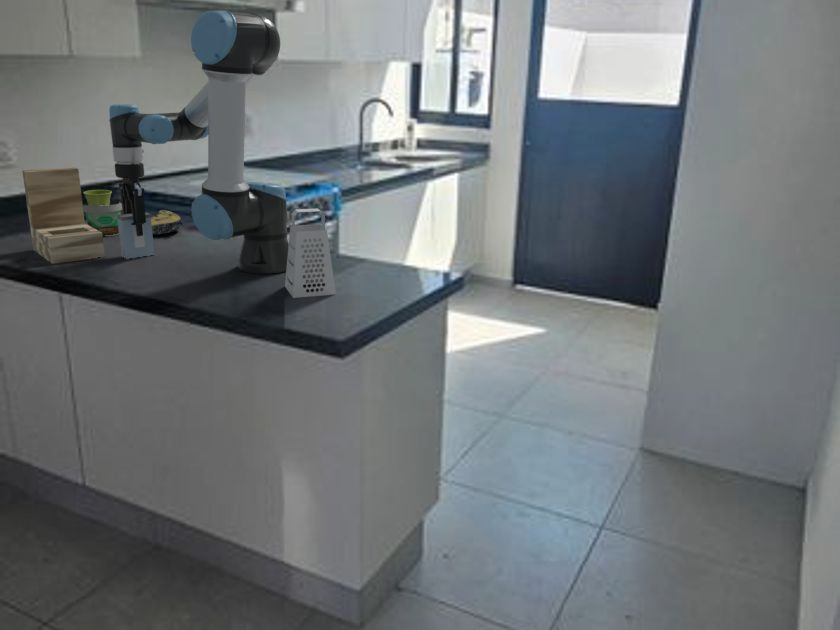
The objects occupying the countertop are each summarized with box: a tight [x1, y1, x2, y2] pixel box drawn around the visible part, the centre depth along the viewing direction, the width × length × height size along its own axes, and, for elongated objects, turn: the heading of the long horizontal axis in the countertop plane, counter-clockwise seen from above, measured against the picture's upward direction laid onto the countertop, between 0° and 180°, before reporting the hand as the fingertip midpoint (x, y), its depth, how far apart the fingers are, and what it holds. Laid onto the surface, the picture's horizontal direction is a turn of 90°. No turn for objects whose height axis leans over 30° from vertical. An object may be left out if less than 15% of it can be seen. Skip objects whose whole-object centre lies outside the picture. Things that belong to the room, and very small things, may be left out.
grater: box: [284, 207, 337, 299], centre depth 185 cm, size 10×10×20 cm
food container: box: [83, 201, 123, 236], centre depth 240 cm, size 12×6×10 cm, turn 131°
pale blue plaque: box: [117, 211, 155, 260], centre depth 215 cm, size 4×8×12 cm, turn 129°
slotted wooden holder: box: [21, 166, 106, 265], centre depth 215 cm, size 20×14×23 cm
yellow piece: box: [151, 209, 184, 236], centre depth 252 cm, size 14×6×30 cm
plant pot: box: [83, 189, 113, 206], centre depth 270 cm, size 9×9×9 cm
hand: (136, 245), depth 216 cm, fingers closed on pale blue plaque, 4 cm apart
